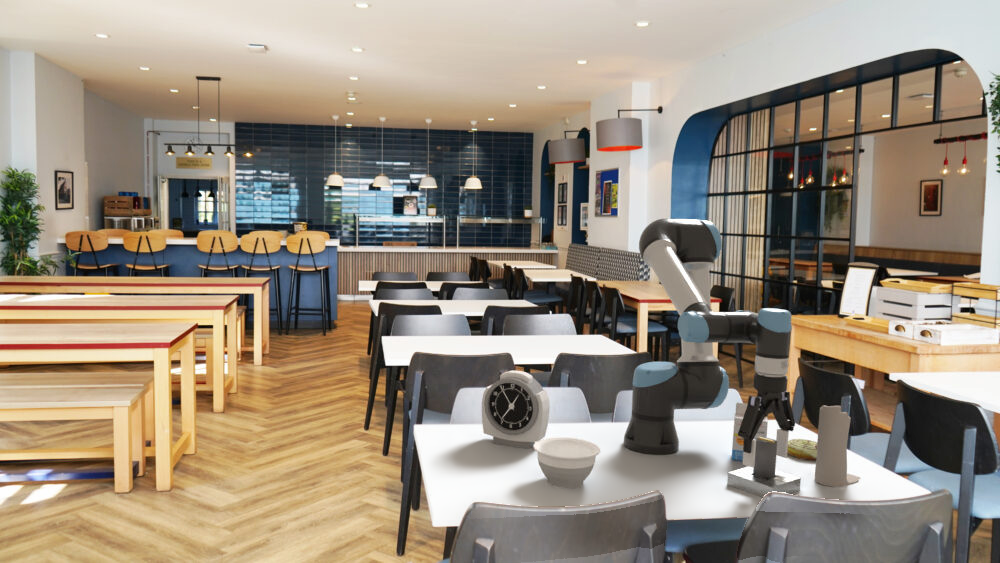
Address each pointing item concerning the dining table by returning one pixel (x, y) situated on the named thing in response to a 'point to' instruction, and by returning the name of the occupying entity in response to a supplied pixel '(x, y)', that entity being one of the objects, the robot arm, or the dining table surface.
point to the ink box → (739, 441)
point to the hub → (763, 482)
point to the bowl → (566, 460)
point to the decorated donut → (802, 449)
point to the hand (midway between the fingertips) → (765, 460)
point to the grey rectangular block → (765, 458)
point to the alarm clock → (515, 410)
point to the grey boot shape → (833, 448)
